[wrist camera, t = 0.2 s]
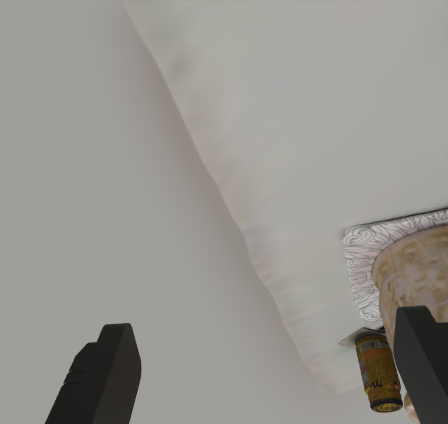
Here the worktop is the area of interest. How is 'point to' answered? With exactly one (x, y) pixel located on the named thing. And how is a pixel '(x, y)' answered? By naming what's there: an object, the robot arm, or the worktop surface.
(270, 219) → the worktop surface
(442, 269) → the cookie jar
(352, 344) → the condiment
